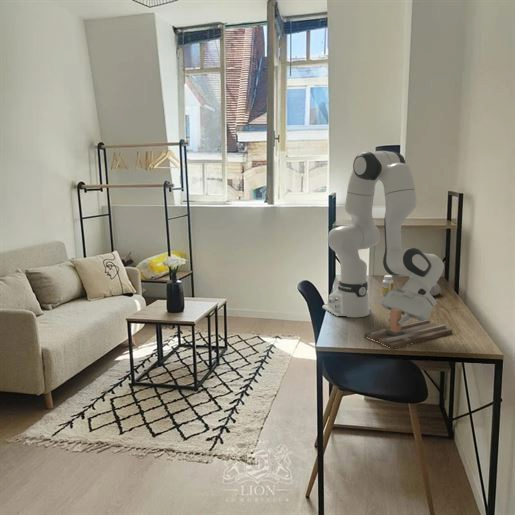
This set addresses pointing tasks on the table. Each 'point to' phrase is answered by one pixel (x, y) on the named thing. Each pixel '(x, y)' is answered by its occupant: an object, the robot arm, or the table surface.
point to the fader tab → (395, 323)
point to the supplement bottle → (387, 284)
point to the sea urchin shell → (435, 290)
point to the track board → (410, 333)
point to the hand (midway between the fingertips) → (394, 322)
